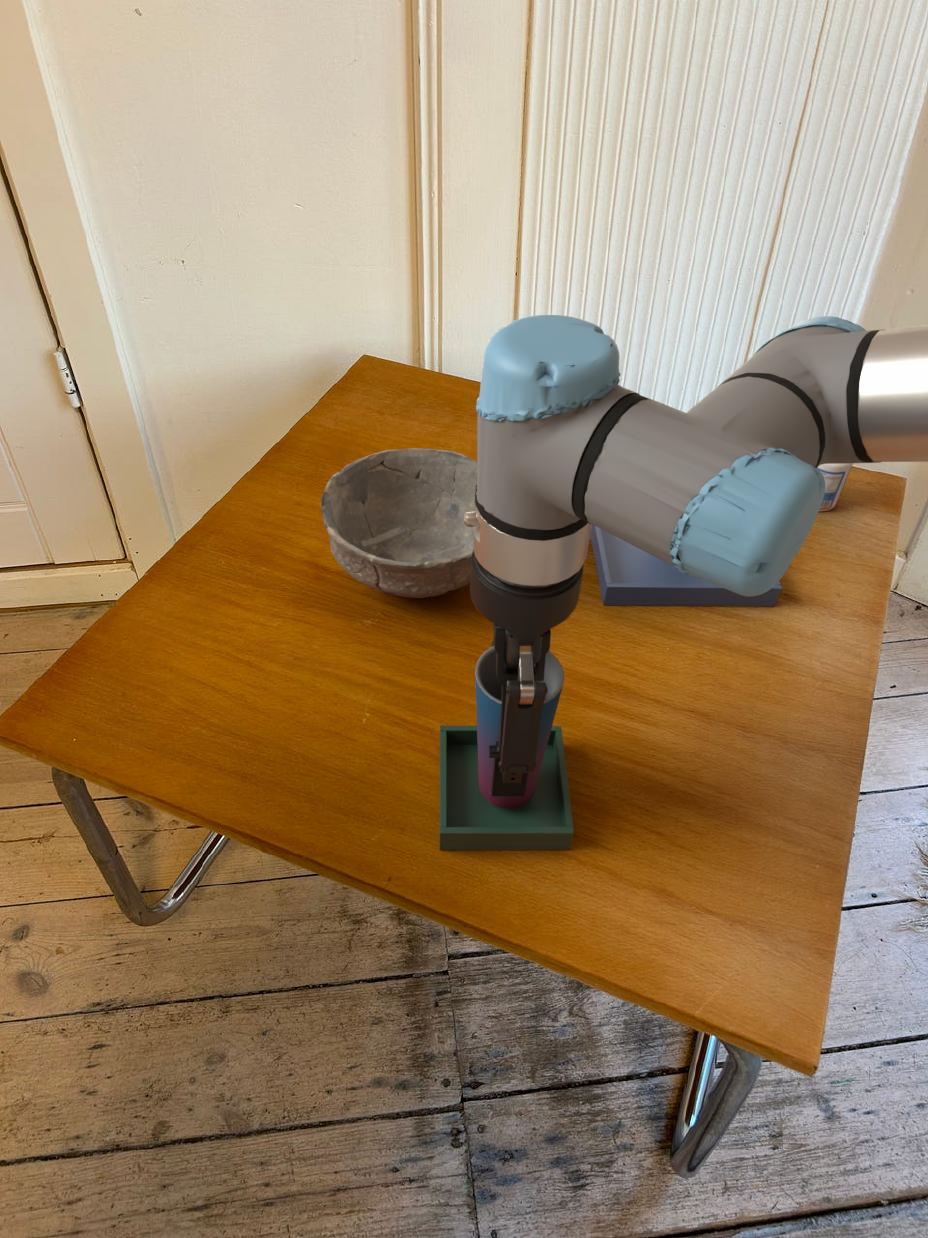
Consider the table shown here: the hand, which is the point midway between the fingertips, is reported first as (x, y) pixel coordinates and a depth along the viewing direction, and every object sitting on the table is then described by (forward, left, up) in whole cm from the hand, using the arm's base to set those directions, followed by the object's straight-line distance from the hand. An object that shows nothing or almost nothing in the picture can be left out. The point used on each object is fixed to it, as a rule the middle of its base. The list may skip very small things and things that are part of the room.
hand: (505, 758), depth 73 cm
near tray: (0, 0, -5) cm, 5 cm away
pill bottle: (+44, -42, -6) cm, 61 cm away
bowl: (+30, +8, -6) cm, 32 cm away
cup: (0, 0, -4) cm, 4 cm away
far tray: (+34, -22, -5) cm, 41 cm away
